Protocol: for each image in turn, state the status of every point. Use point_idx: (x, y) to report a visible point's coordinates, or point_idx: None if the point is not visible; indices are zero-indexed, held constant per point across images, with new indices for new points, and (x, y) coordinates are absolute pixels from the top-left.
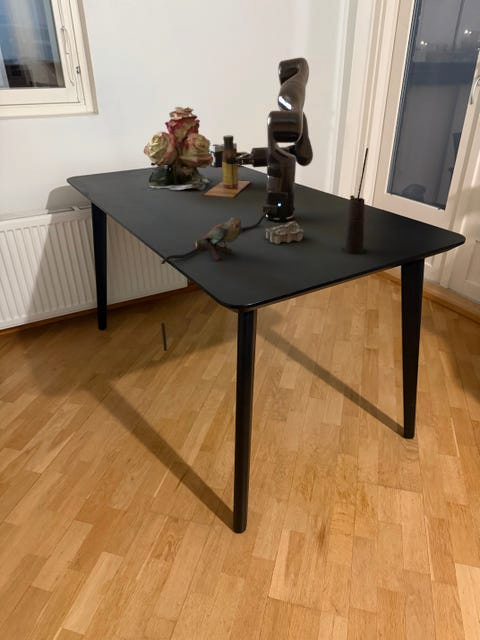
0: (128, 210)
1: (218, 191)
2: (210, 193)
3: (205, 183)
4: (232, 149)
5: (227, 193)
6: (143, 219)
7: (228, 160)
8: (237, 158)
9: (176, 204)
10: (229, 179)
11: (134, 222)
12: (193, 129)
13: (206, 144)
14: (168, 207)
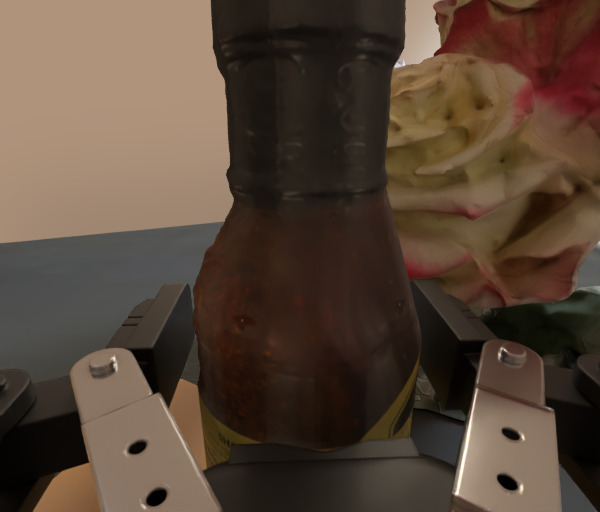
0: (141, 241)
1: (194, 453)
2: (171, 404)
3: (441, 408)
4: (239, 223)
5: (97, 510)
6: (35, 254)
7: (147, 307)
8: (82, 367)
9: (111, 301)
10: None
11: (30, 246)
12: (506, 30)
13: (399, 136)
14: (95, 287)
